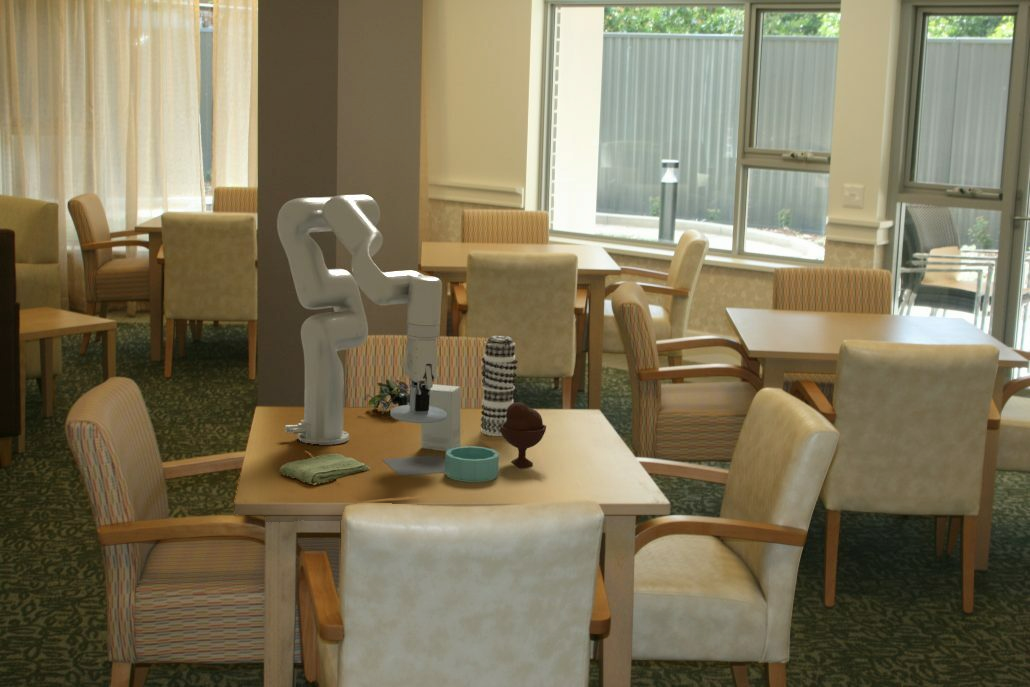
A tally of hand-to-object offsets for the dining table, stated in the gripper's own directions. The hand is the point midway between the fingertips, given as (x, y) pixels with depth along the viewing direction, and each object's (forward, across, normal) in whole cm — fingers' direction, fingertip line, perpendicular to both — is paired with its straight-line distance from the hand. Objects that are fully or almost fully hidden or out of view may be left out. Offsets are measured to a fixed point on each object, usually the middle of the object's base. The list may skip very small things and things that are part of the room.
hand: (418, 407), depth 291 cm
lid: (+2, 0, 0) cm, 2 cm away
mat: (+14, +1, +1) cm, 14 cm away
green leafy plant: (+16, -51, +10) cm, 54 cm away
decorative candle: (+15, -25, +31) cm, 42 cm away
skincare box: (+15, -13, +11) cm, 22 cm away
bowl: (+14, +11, +10) cm, 20 cm away
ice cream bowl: (+14, +5, +25) cm, 29 cm away
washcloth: (+15, 0, -22) cm, 26 cm away
